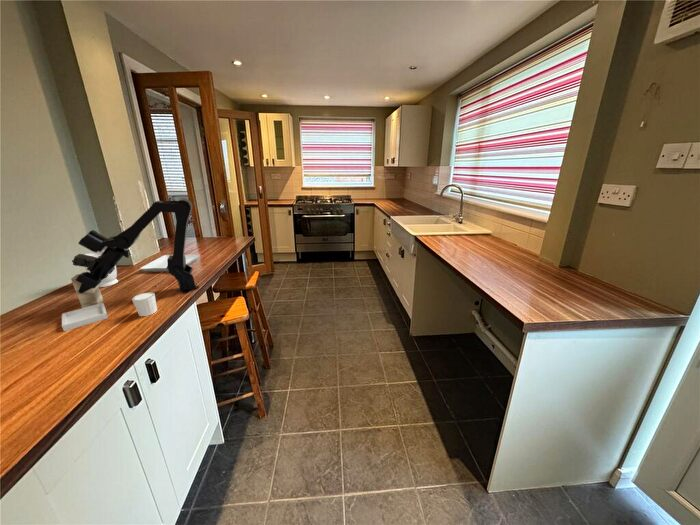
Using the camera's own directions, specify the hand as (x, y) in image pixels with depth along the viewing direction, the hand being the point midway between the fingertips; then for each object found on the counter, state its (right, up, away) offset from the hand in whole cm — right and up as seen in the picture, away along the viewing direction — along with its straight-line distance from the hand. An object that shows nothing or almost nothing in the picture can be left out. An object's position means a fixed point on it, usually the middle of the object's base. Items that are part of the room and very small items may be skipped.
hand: (83, 289), depth 109 cm
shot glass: (+29, -8, -4) cm, 30 cm away
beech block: (+1, -6, +3) cm, 7 cm away
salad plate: (+8, +8, +43) cm, 45 cm away
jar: (-9, 0, +22) cm, 23 cm away
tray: (+8, -10, -7) cm, 15 cm away
